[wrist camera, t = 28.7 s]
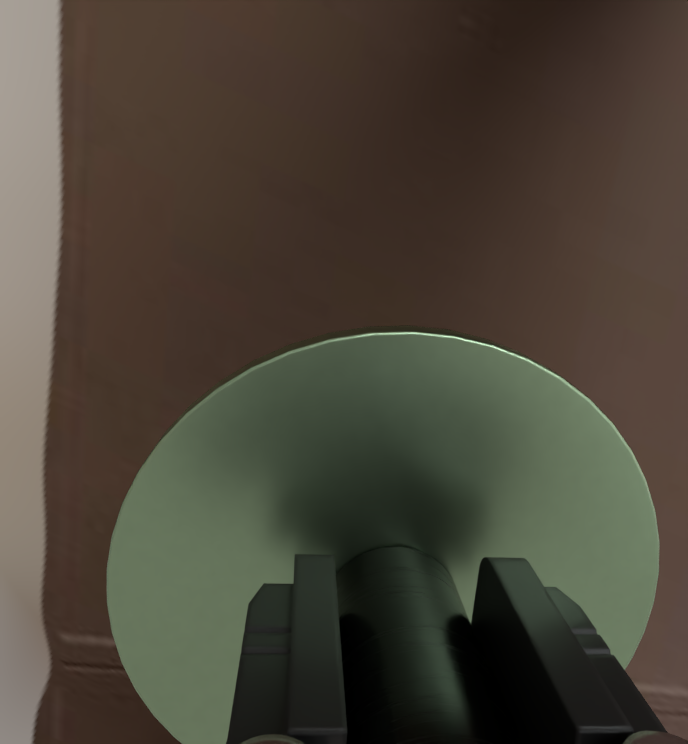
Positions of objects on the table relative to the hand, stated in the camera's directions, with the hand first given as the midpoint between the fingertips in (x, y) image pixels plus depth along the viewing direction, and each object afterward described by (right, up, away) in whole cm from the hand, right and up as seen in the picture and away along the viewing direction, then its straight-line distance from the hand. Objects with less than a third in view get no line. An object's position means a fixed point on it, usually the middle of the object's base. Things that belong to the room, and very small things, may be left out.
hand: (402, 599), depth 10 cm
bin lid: (0, 0, +2) cm, 2 cm away
